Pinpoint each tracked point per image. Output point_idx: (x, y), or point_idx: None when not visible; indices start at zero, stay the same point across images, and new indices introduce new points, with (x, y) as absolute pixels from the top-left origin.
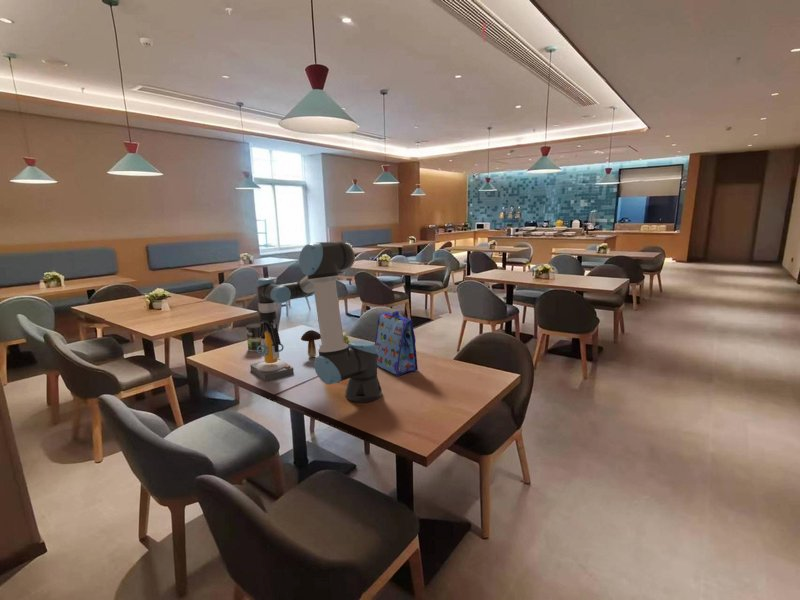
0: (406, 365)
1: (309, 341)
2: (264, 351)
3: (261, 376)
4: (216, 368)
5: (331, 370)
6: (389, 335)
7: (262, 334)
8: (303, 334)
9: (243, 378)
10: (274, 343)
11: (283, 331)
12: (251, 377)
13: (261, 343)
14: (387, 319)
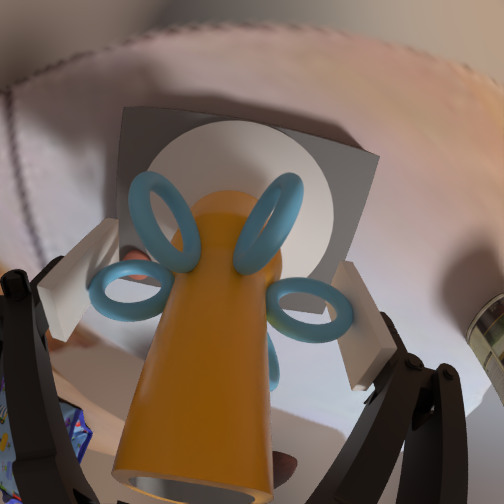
0: None
1: None
2: (130, 188)
3: (188, 111)
4: (498, 90)
5: None
6: (7, 454)
7: (389, 407)
8: (273, 474)
9: (283, 46)
10: (5, 306)
11: (473, 407)
12: (258, 81)
13: (485, 343)
14: None
